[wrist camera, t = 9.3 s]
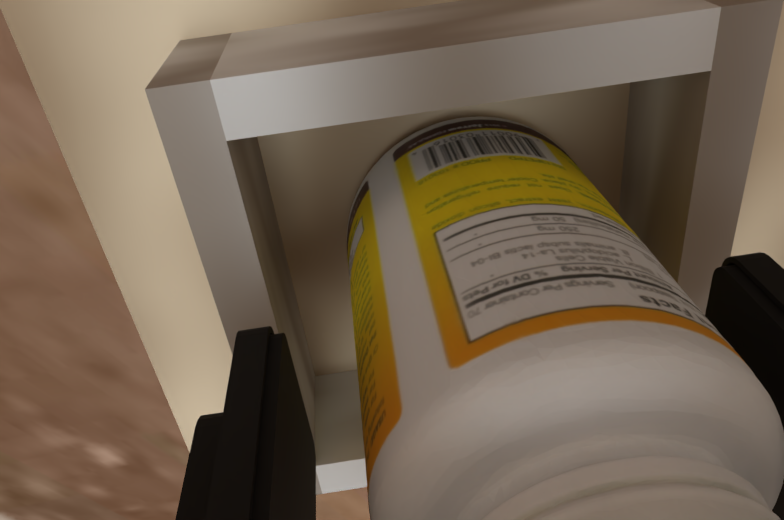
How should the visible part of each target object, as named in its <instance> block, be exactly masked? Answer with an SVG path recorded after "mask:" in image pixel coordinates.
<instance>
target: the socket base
mask: <svg viewBox="0 0 784 520" xmlns="http://www.w3.org/2000/svg"><path fill="white" fill-rule="evenodd" d="M0 8H1V11H2V13H3V15H4V18H5V20H6V23H7V25H8V27H9V30H10V32H11V34H12V37H13V39H14V41H15V44H16V46H17V48H18V51H19V53H20V55H21V58H22V60H23V62H24V65H25V67H26V69H27V72H28V74H29V77H30V79H31V81H32V84H33V86H34V88H35V91H36V93H37V95H38V98H39V100H40V102H41V105H42V107H43V109H44V112H45V114H46V116H47V119H48V121H49V124H50V126H51V128H52V131H53V133H54V135H55V138H56V140H57V142H58V145H59V147H60V149H61V152H62V154H63V156H64V159H65V161H66V163H67V166H68V168H69V170H70V173H71V175H72V178H73V180H74V182H75V185H76V187H77V189H78V192H79V194H80V196H81V199H82V201H83V203H84V206H85V208H86V210H87V213H88V215H89V217H90V220H91V222H92V224H93V227H94V229H95V232H96V234H97V236H98V239H99V241H100V243H101V246H102V248H103V250H104V253H105V255H106V257H107V260H108V262H109V264H110V267H111V269H112V271H113V274H114V276H115V278H116V281H117V283H118V286H119V288H120V290H121V293H122V295H123V297H124V300H125V302H126V304H127V307H128V309H129V311H130V314H131V316H132V318H133V321H134V323H135V325H136V328H137V330H138V332H139V335H140V337H141V340H142V342H143V344H144V347H145V349H146V351H147V354H148V356H149V358H150V361H151V363H152V365H153V368H154V370H155V372H156V375H157V377H158V379H159V382H160V384H161V386H162V389H163V391H164V394H165V396H166V398H167V401H168V403H169V405H170V408H171V410H172V412H173V415H174V417H175V419H176V422H177V424H178V426H179V429H180V431H181V433H182V436H183V438H184V441H185V443H186V445H187V448H188V450H189V452H190V449H191V445H192V440H193V435H194V430H195V426H196V423H197V420H198V419H199V417H200V416H201V415H208V414H214V413H221V412H223V410H224V404H225V398H226V392H227V386H228V380H229V375H230V369H231V363H232V357H233V351H234V345H235V339H236V334H237V332H238V331H241V330H247V329H254V328H261V327H267V326H271V327H272V329H273V331H274V334H278V333H285V335H286V338H287V341H288V345H289V349H290V353H291V357H292V360H293V364H294V368H295V372H296V375H297V379H298V383H299V387H300V391H301V394H302V398H303V402H304V406H305V409H306V413H307V417H308V421H309V425H310V428H311V432H312V436H313V440H314V445H315V454H316V495H318V494H324V493H330V492H337V491H343V490H350V489H356V488H362V487H367V478H366V464H365V451H364V441H363V429H362V417H361V407H360V395H359V382H358V371H357V362H356V350H355V340H354V326H353V314H352V305H351V292H350V283H349V269H348V258H347V227H348V219H349V214H350V210H351V207H352V203H353V201H354V198H355V196H356V193H357V192H358V190H359V188H360V186H361V184H362V182H363V180H364V179H365V177H366V176H367V174H368V173H369V171H370V170H371V169H372V167H373V166H374V165H375V164H376V163H377V162H378V161H379V159H380V158H381V157H382V156H383V155H384V154H385V153H387V152H388V151H389V150H390V149H391V148H392V147H393V146H395V145H396V144H398V143H399V142H400V141H402V140H403V139H405V138H406V137H408V136H410V135H412V134H413V133H415V132H417V131H419V130H422V129H424V128H426V127H428V126H431V125H433V124H436V123H439V122H442V121H447V120H452V119H456V118H463V117H477V116H483V117H495V118H501V119H507V120H511V121H514V122H518V123H521V124H524V125H526V126H528V127H530V128H533V129H535V130H536V131H538V132H540V133H542V134H544V135H545V136H546V137H548V138H549V139H551V140H552V141H553V142H554V143H555V144H557V145H558V146H559V147H560V148H561V149H562V150H563V151H565V152H566V153H567V155H568V156H569V157H570V158H571V159H572V160H573V161H574V162H575V163H576V165H577V166H578V167H579V169H580V170H581V171H582V172H583V173H584V175H585V176H586V177H587V178H588V179H589V180H590V182H591V183H592V184H593V185H594V186H595V187H596V189H597V190H598V191H599V192H600V193H601V194H602V196H603V197H604V198H605V199H606V200H607V201H608V202H609V204H610V205H611V206H612V207H613V208H614V210H615V211H616V212H617V213H618V214H619V215H620V217H621V218H622V219H623V220H624V221H625V222H626V224H627V225H628V226H629V227H630V228H631V229H632V230H633V231H634V232H635V233H636V235H637V236H638V237H639V239H640V240H641V241H642V242H643V243H644V244H645V245H646V246H647V248H648V249H649V250H650V252H651V253H652V254H653V255H654V256H655V257H656V259H657V260H658V261H659V262H660V263H661V265H662V266H663V267H664V268H665V269H666V270H667V272H668V273H669V274H670V275H671V276H672V278H673V279H674V280H675V281H676V282H677V283H678V285H679V286H680V287H681V288H682V289H683V290H684V292H685V293H686V294H687V295H688V296H689V298H690V299H691V300H692V301H693V302H694V303H695V305H696V306H697V307H698V308H699V309H700V311H701V312H702V313H703V314H704V315H705V312H706V307H707V302H708V297H709V292H710V287H711V281H712V276H713V273H714V270H715V269H716V268H718V267H721V266H722V263H723V261H724V260H725V259H726V258H728V257H732V256H739V255H745V254H752V253H758V252H761V253H765V254H767V255H769V256H770V257H771V258H772V259H773V260H774V261H776V262H777V263H778V264H779V265H780V266H781V267H782V268H783V269H784V0H0Z"/></svg>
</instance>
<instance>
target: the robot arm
mask: <svg viewBox="0 0 784 520" xmlns="http://www.w3.org/2000/svg"><path fill="white" fill-rule="evenodd" d="M705 317H706V318H707V319H708V320H709V321H710V322H711V323H712V324H713V326H714V327H715V328H716V329H717V330H718V332H719V333H720V334H721V335H722V336H723V337H724V338H725V340H726V341H727V342H728V343H729V344H730V345H731V346H732V347H733V349H734V350H735V351H736V352H737V353H738V354H739V355H740V357H741V358H742V359H743V360H744V362H745V363H746V364H747V365H748V366H749V368H750V369H751V370H752V371H753V373H754V374H755V376H756V377H757V379H758V380H759V381H760V383H761V384H762V385H763V387H764V388H765V389H766V391H767V392H768V394H769V395H770V397H771V399H772V401H773V403H774V405H775V407H776V409H777V411H778V414H779V416H780V419H781V422H782V426H783V430H784V269H783V268H782V267H781V266H780V265H779V264H778V263H777V262H776V261H774V260H773V259H772V258H771V257H770V256H769V255H767V254H765V253H761V252H758V253H752V254H745V255H739V256H732V257H728V258H726V259H725V260H724V261H723V263H722V266H721V267H718V268H716V269H715V270H714V273H713V276H712V281H711V287H710V292H709V297H708V302H707V307H706V312H705ZM772 511H773V512H774V513H775V514H776V515H777V516H778V517H779V518H780V519H781V520H784V480H783V485H782V488H781V491H780V493H779V496H778V499H777V501H776V504H775V506H774V508H773V509H772ZM176 520H316V454H315V445H314V440H313V436H312V432H311V428H310V425H309V421H308V417H307V413H306V409H305V406H304V402H303V398H302V394H301V391H300V387H299V383H298V379H297V375H296V372H295V368H294V364H293V360H292V357H291V353H290V349H289V345H288V341H287V338H286V335H285V333H278V334H274V331H273V329H272V327H271V326H267V327H261V328H254V329H247V330H241V331H238V332H237V334H236V339H235V345H234V351H233V357H232V363H231V369H230V375H229V380H228V386H227V392H226V398H225V404H224V410H223V412H221V413H214V414H208V415H201V416H200V417H199V419H198V420H197V423H196V426H195V430H194V435H193V440H192V445H191V449H190V454H189V459H188V463H187V468H186V473H185V478H184V482H183V487H182V492H181V496H180V501H179V506H178V511H177V515H176Z"/></svg>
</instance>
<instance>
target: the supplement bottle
mask: <svg viewBox="0 0 784 520" xmlns="http://www.w3.org/2000/svg"><path fill="white" fill-rule="evenodd" d="M347 258H348V269H349V283H350V292H351V305H352V314H353V326H354V340H355V350H356V362H357V371H358V382H359V395H360V407H361V417H362V429H363V441H364V451H365V464H366V478H367V490H368V503H369V512H370V519H371V520H781V519H780V518H779V517H778V516H777V515H776V514H775V513H773V512H772V509H773V508H774V506H775V504H776V501H777V499H778V496H779V493H780V491H781V488H782V485H783V480H784V430H783V426H782V422H781V419H780V416H779V414H778V411H777V409H776V407H775V405H774V403H773V401H772V399H771V397H770V395H769V394H768V392H767V391H766V389H765V388H764V387H763V385H762V384H761V383H760V381H759V380H758V379H757V377H756V376H755V374H754V373H753V371H752V370H751V369H750V368H749V366H748V365H747V364H746V363H745V362H744V360H743V359H742V358H741V357H740V355H739V354H738V353H737V352H736V351H735V350H734V349H733V347H732V346H731V345H730V344H729V343H728V342H727V341H726V340H725V338H724V337H723V336H722V335H721V334H720V333H719V332H718V330H717V329H716V328H715V327H714V326H713V324H712V323H711V322H710V321H709V320H708V319H707V318H706V317H705V315H704V314H703V313H702V312H701V311H700V309H699V308H698V307H697V306H696V305H695V303H694V302H693V301H692V300H691V299H690V298H689V296H688V295H687V294H686V293H685V292H684V290H683V289H682V288H681V287H680V286H679V285H678V283H677V282H676V281H675V280H674V279H673V278H672V276H671V275H670V274H669V273H668V272H667V270H666V269H665V268H664V267H663V266H662V265H661V263H660V262H659V261H658V260H657V259H656V257H655V256H654V255H653V254H652V253H651V252H650V250H649V249H648V248H647V246H646V245H645V244H644V243H643V242H642V241H641V240H640V239H639V237H638V236H637V235H636V233H635V232H634V231H633V230H632V229H631V228H630V227H629V226H628V225H627V224H626V222H625V221H624V220H623V219H622V218H621V217H620V215H619V214H618V213H617V212H616V211H615V210H614V208H613V207H612V206H611V205H610V204H609V202H608V201H607V200H606V199H605V198H604V197H603V196H602V194H601V193H600V192H599V191H598V190H597V189H596V187H595V186H594V185H593V184H592V183H591V182H590V180H589V179H588V178H587V177H586V176H585V175H584V173H583V172H582V171H581V170H580V169H579V167H578V166H577V165H576V163H575V162H574V161H573V160H572V159H571V158H570V157H569V156H568V155H567V153H566V152H565V151H563V150H562V149H561V148H560V147H559V146H558V145H557V144H555V143H554V142H553V141H552V140H551V139H549V138H548V137H546V136H545V135H544V134H542V133H540V132H538V131H536V130H535V129H533V128H530V127H528V126H526V125H524V124H521V123H518V122H514V121H511V120H507V119H501V118H495V117H483V116H477V117H463V118H456V119H452V120H447V121H442V122H439V123H436V124H433V125H431V126H428V127H426V128H424V129H422V130H419V131H417V132H415V133H413V134H412V135H410V136H408V137H406V138H405V139H403V140H402V141H400V142H399V143H398V144H396V145H395V146H393V147H392V148H391V149H390V150H389V151H388V152H387V153H385V154H384V155H383V156H382V157H381V158H380V159H379V161H378V162H377V163H376V164H375V165H374V166H373V167H372V169H371V170H370V171H369V173H368V174H367V176H366V177H365V179H364V180H363V182H362V184H361V186H360V188H359V190H358V192H357V193H356V196H355V198H354V201H353V203H352V207H351V210H350V214H349V219H348V227H347Z"/></svg>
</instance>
